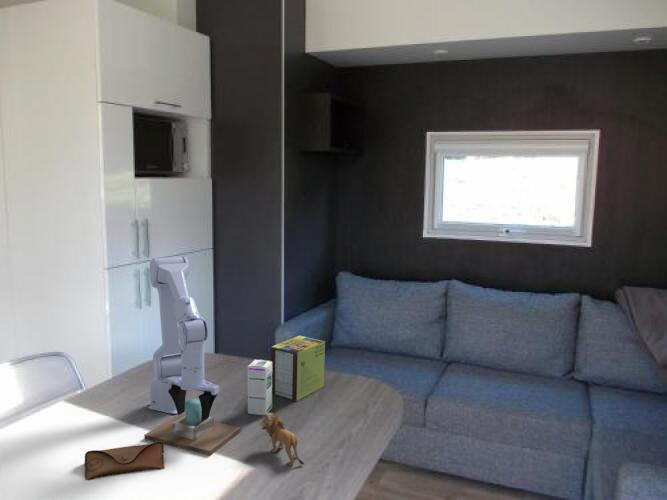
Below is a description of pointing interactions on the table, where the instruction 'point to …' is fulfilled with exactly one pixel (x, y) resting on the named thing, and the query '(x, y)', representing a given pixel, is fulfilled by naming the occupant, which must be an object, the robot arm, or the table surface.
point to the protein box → (297, 367)
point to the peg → (193, 412)
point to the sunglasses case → (123, 460)
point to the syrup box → (260, 387)
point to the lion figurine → (280, 436)
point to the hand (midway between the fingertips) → (193, 415)
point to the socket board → (193, 434)
